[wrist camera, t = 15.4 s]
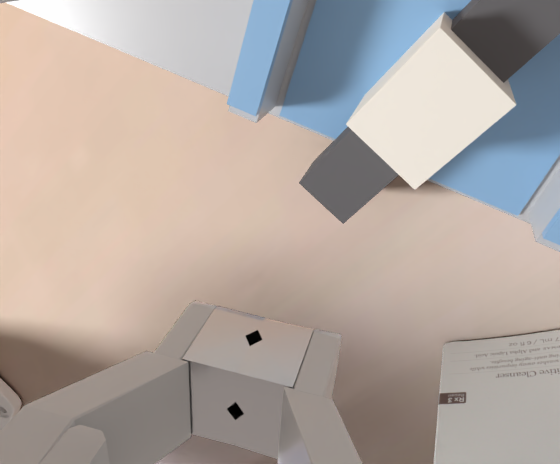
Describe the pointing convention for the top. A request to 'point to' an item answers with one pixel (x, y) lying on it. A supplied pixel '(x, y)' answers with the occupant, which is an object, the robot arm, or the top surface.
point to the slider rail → (336, 77)
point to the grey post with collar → (432, 101)
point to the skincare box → (500, 401)
